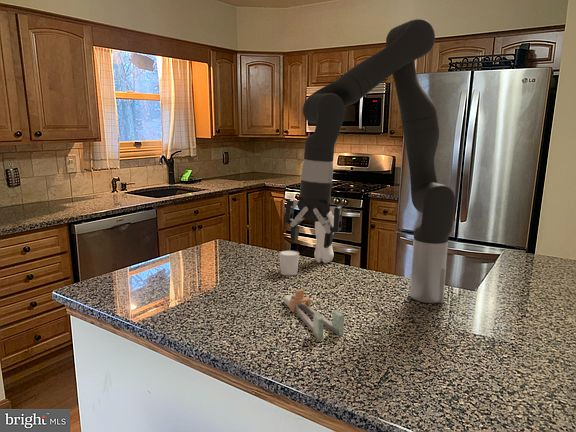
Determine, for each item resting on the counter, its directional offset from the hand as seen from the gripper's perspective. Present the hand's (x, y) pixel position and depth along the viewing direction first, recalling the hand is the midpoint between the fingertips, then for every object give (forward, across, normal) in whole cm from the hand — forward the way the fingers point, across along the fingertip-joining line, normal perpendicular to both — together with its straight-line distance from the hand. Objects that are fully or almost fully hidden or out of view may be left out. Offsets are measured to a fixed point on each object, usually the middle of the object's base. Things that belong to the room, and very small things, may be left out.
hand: (310, 244), depth 106 cm
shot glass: (+20, +19, -31) cm, 41 cm away
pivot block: (+20, +5, -6) cm, 21 cm away
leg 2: (+19, -4, -1) cm, 20 cm away
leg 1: (+20, -2, +2) cm, 20 cm away
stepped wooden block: (+20, +3, -5) cm, 20 cm away
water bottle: (+19, +13, -48) cm, 53 cm away
